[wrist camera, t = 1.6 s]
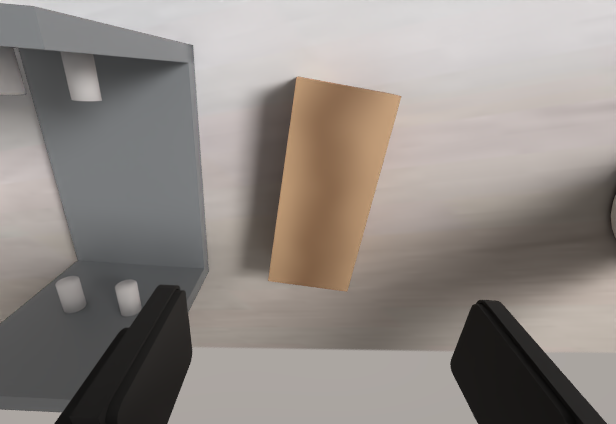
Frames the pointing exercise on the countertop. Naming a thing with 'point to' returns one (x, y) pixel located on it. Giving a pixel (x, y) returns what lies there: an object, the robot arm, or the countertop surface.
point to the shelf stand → (103, 190)
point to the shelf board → (329, 181)
